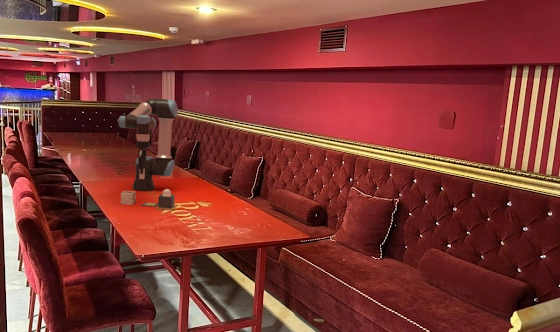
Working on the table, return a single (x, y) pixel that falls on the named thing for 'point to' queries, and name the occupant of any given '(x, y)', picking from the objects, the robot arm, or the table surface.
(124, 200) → the die
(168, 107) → the robot arm
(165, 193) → the dome plunger
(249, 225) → the table surface
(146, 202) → the pad
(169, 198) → the button box
